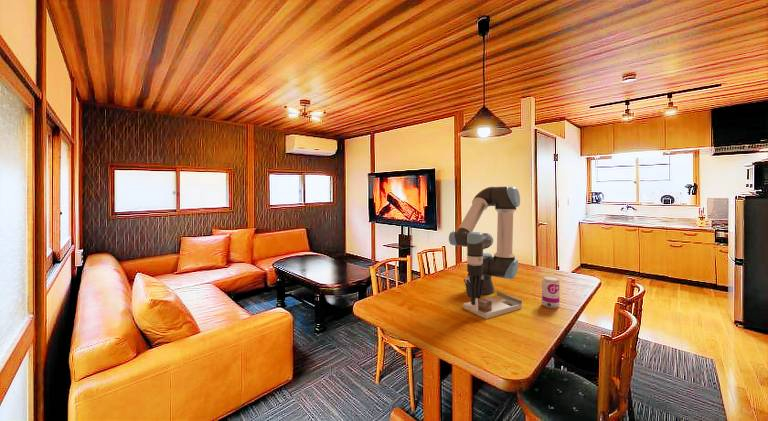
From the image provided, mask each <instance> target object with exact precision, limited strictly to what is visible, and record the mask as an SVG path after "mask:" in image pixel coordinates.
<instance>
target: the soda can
mask: <svg viewBox="0 0 768 421" xmlns="http://www.w3.org/2000/svg"><path fill="white" fill-rule="evenodd" d="M541 281H542V284H541V285H542V287H541V288H542V289H541V291H542V292H541V304H542V305H543V307H545V308H550V309H557V308H559V307H560V296H561V295H560V290H561V288H560V286H561V282H560V280H559V278H558V277H554V276H544V277H543V279H542V280H541Z"/></svg>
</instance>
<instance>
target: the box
mask: <svg viewBox="0 0 768 421" xmlns="http://www.w3.org/2000/svg"><path fill="white" fill-rule="evenodd" d="M485 298H486V299H488V300H491V301H492V311H489V312H485V313H484V312H482V311H480V310H478V311H477V312H475V311H473V310H472V304H471V301H468V302H464V303H463V306H462V307H463V308H462V309H465V310H467V311H468V312H471V313H473V314H475V315H476V316H477V315H478V316H479V317H481V318H484V319H485V320H487V319H491V318H494V317H497V316H500V315H505V314H507V313H511V312H513V311H517V310H521V309H522V308H523V304H522V303H523V301H522V299H520V298H517V297H514V296H511V295H509V294H507V293H503V292H501V291H496V294H495V295H491V296H488V297H485Z"/></svg>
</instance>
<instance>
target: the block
mask: <svg viewBox="0 0 768 421" xmlns="http://www.w3.org/2000/svg"><path fill="white" fill-rule="evenodd" d="M486 298H487V297H481V298H479V304H478V310H480V311H482V312H484V313H485V312H489V311H492V301H491V300H488V299H486Z"/></svg>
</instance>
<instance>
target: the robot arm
mask: <svg viewBox="0 0 768 421" xmlns="http://www.w3.org/2000/svg"><path fill="white" fill-rule="evenodd" d="M520 204H521V196H520V192H519V190H518V188H517V187H515V186H488V187H486V188H484V189H482V190H480V191H479V192H478V193H477V194H476V195H475V196H474V197H473V199H472V201H471V206H470V207H469V210H468V211H467V213H466V214H465V216H464V218H463V220H462V221H461V223H460V225H459V227H458V229H457V230H456V231H451V232H450V233H449V236H448V243H449V244H450V245H451V246H455V247H467V248H466V252H467V253H466V263H467V265H466V271H467V277H466V278H464V279H463V282H464V285H465V290H466V295H467V297H468V298H470V302H471V304H472V310H473V311H475V312H477V311H478V304H479V299H482V296H483V295H491V294H493V293H495V287H494V283H493V281H492V280H493V279H492V277H495V278H502V279H505V280H507V279H508V280H513V279H514V278H515V277H516V275H517V273H518V270H519V261H518V259H516V256H515V254H514V253H513V241H514V240H513V239H514V238H513V235H514V213H515V211H517V208H518V207H520ZM489 207H494V209H495V211H496V212H497V222H496V223H497V227H496V228H497V229H496V252H495V253H494V254H492V253H490V252H489V253H488V252H484V250H486V249H489V248H490V247H491V246H492V245H493V243H494V237H493V236H492V235H491V234H490V233H483V232H479V231H474V230H475V228H476V226H477V224H478V222H479V220H480V219H481V217H482V215H483V213H484V211H485V210H487V209H488V208H489Z"/></svg>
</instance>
